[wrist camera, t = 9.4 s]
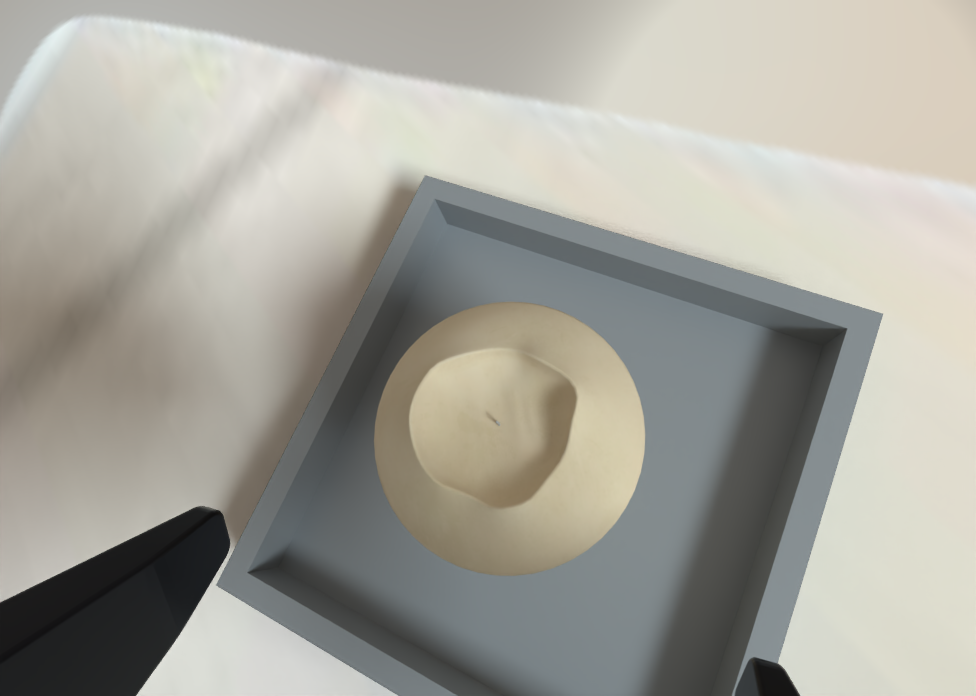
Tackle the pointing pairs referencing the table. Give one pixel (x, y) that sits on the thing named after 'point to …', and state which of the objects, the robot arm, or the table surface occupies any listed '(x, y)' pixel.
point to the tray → (650, 512)
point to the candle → (509, 438)
